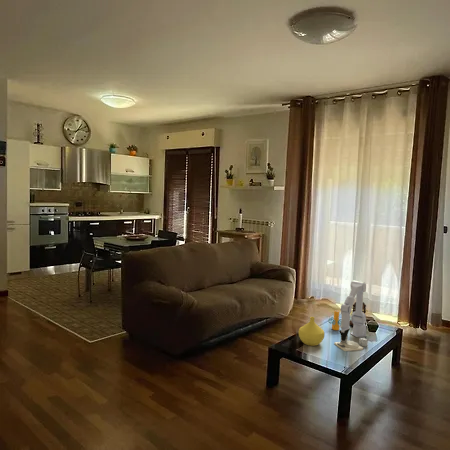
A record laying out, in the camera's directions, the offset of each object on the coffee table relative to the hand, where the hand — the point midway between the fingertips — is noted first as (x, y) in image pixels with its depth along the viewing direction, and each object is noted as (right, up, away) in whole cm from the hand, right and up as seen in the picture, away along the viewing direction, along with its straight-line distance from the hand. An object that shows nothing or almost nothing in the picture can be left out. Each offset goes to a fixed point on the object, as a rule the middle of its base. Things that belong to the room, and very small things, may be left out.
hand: (344, 339), depth 278 cm
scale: (+4, -5, -2) cm, 6 cm away
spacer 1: (0, -2, 0) cm, 2 cm away
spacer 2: (+14, -5, +2) cm, 15 cm away
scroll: (+25, -2, +44) cm, 51 cm away
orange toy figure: (+3, -2, +34) cm, 34 cm away
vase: (-24, -4, +2) cm, 24 cm away
